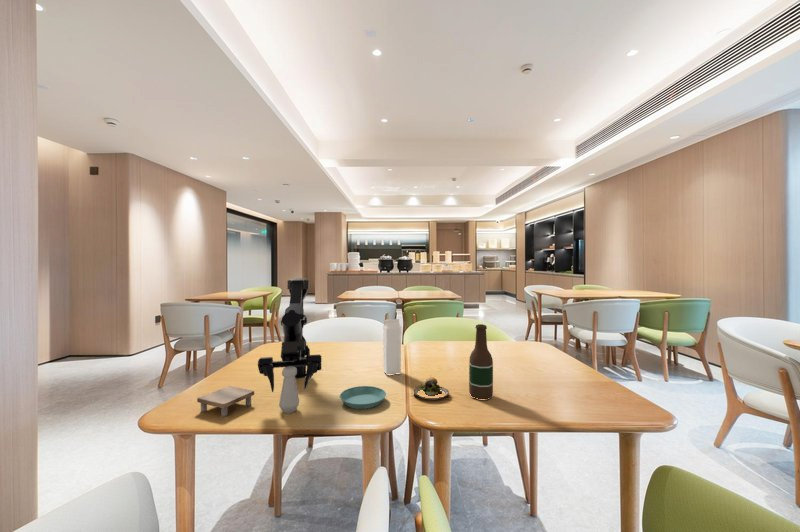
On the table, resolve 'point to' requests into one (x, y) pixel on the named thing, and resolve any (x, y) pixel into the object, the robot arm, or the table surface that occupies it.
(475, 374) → the beer bottle
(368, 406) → the saucer
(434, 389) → the plate of food
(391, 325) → the milk
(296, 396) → the salt shaker
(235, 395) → the small stand
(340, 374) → the table surface
